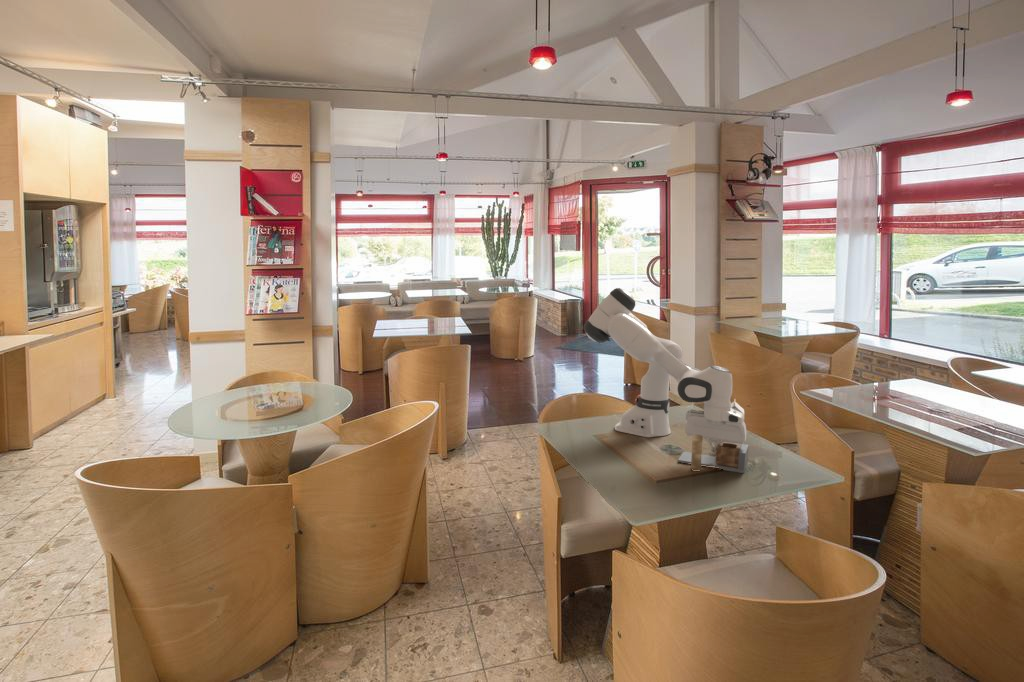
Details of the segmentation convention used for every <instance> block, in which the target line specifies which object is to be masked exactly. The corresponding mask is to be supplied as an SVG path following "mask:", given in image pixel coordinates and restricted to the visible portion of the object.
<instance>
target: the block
mask: <svg viewBox="0 0 1024 682" xmlns="http://www.w3.org/2000/svg"><path fill="white" fill-rule="evenodd" d="M741 447H742V444H737V443H730V442H723V441H721V442H720V444H719V445H718V446H717V451H716V452H715V453H716V455H715V456H716V464H720V465H727V466H733V467H738V460H739V451H740V449H741Z"/></svg>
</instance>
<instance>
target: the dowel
mask: <svg viewBox="0 0 1024 682" xmlns="http://www.w3.org/2000/svg"><path fill="white" fill-rule="evenodd" d="M703 439H704V438H703V436H701V435H693V436H692V440H691V441H692V443H691V453H692V459H691V465H690V470H691V469H693V470H700V469H701V470H702V466H701V456H702V453H703V452H702V450H703Z"/></svg>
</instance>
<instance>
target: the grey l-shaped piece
mask: <svg viewBox="0 0 1024 682" xmlns="http://www.w3.org/2000/svg"><path fill="white" fill-rule="evenodd" d="M691 459H692V452H689V451H683V452H682V453H681V455H680V456H679V458H678V459H677V463H678V462H682V463H681V464H683V463H691ZM748 460H749V444H746V443H743V444H742V447H741V449H740V451H739V460H738V467H733V466H727V465H720V464H716V455H715V456H714V455H708V454H702V456H701V465H706V466H715V467H719V468H722V469H723V471H726V472H727V471H728V472H733V473H740V474H745V471H746V469H747V466H748V462H749V461H748Z"/></svg>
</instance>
